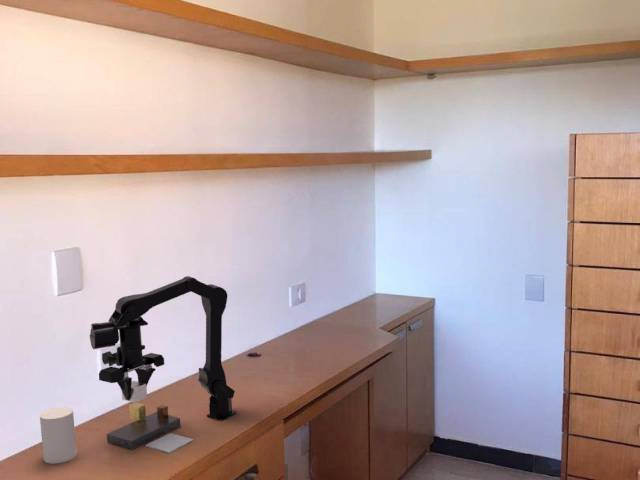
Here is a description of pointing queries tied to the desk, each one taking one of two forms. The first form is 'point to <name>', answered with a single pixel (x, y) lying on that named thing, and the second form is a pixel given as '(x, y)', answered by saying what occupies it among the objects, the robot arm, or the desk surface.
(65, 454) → the cup
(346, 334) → the desk surface
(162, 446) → the felt mat
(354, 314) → the desk surface
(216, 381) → the robot arm
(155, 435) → the dark grey base plate
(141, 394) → the light grey block
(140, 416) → the block
